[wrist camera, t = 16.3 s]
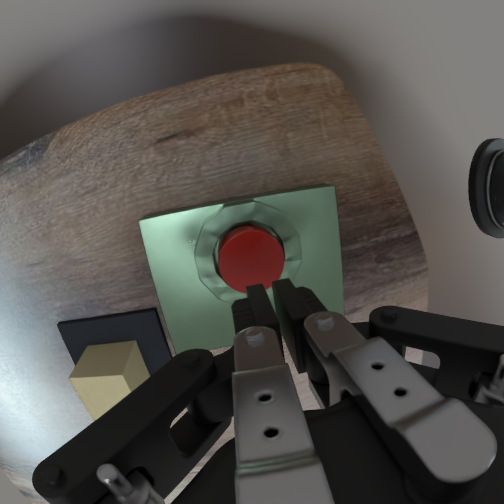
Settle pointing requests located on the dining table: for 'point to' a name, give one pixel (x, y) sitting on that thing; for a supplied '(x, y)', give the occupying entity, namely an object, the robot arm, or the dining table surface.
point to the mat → (119, 335)
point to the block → (108, 375)
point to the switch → (250, 258)
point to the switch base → (206, 257)
